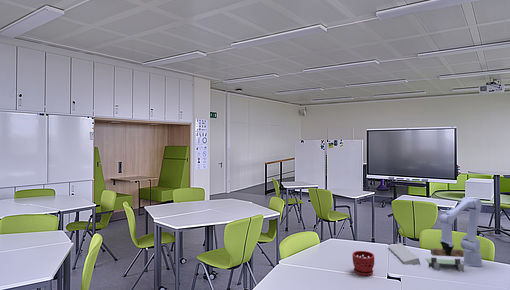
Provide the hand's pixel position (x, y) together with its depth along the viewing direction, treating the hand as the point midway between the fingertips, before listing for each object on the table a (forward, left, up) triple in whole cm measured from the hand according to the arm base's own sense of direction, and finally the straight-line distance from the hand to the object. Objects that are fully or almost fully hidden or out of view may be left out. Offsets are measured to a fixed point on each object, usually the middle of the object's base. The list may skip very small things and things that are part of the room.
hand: (447, 254), depth 206 cm
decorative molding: (+22, -22, -10) cm, 33 cm away
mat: (-2, -13, -9) cm, 16 cm away
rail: (0, 0, 0) cm, 1 cm away
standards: (0, 0, -9) cm, 9 cm away
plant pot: (+53, +16, -10) cm, 56 cm away
